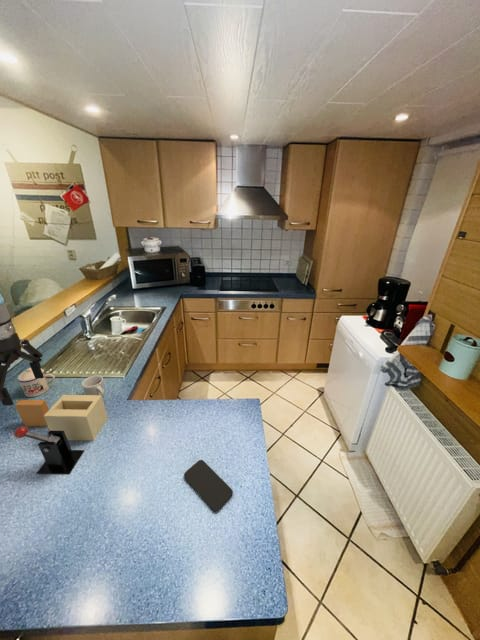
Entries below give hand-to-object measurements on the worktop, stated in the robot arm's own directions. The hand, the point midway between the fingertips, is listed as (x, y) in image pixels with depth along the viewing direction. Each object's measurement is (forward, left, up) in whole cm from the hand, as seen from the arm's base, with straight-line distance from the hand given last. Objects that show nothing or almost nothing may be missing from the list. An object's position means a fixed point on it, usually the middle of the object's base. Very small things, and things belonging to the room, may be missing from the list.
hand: (25, 390), depth 86 cm
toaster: (+17, -2, -16) cm, 24 cm away
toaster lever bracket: (+18, -15, -16) cm, 29 cm away
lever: (+13, -15, -6) cm, 21 cm away
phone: (+65, -21, -17) cm, 70 cm away
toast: (0, 0, -16) cm, 16 cm away
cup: (+14, +15, -17) cm, 26 cm away
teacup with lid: (-13, +19, -17) cm, 28 cm away
